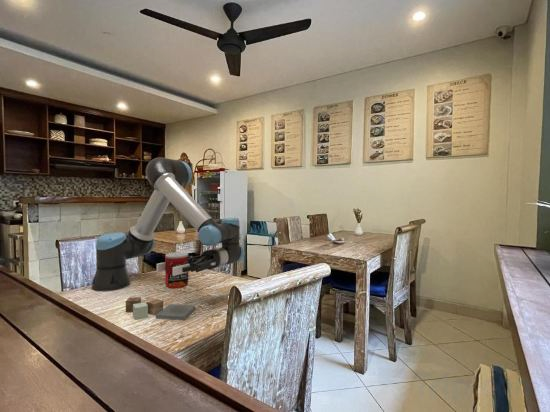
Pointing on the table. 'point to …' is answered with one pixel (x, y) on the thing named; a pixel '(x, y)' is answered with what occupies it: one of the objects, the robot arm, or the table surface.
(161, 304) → the teak block
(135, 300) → the walnut block
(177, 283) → the canned food
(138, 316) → the sage painted block
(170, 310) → the plate
